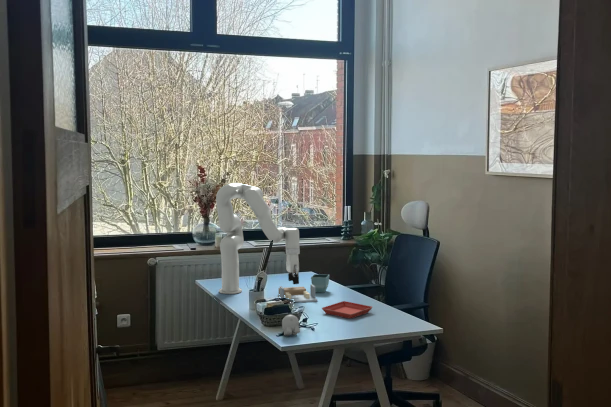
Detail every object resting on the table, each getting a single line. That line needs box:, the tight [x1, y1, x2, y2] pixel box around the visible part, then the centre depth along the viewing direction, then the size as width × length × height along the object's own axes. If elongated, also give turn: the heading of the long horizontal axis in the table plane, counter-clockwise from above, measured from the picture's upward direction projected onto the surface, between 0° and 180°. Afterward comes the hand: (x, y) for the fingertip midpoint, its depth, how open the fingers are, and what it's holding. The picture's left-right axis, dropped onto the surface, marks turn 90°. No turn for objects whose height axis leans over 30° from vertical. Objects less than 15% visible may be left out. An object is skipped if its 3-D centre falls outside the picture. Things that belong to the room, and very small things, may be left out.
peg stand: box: [279, 283, 318, 303], centre depth 336 cm, size 13×18×7 cm
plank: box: [277, 286, 307, 295], centre depth 347 cm, size 6×14×4 cm, turn 103°
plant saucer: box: [321, 300, 373, 320], centre depth 309 cm, size 18×18×3 cm
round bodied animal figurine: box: [281, 314, 301, 337], centre depth 274 cm, size 7×12×8 cm, turn 19°
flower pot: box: [310, 273, 330, 293], centre depth 355 cm, size 9×9×9 cm
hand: (293, 282), depth 346 cm, fingers open, 9 cm apart
